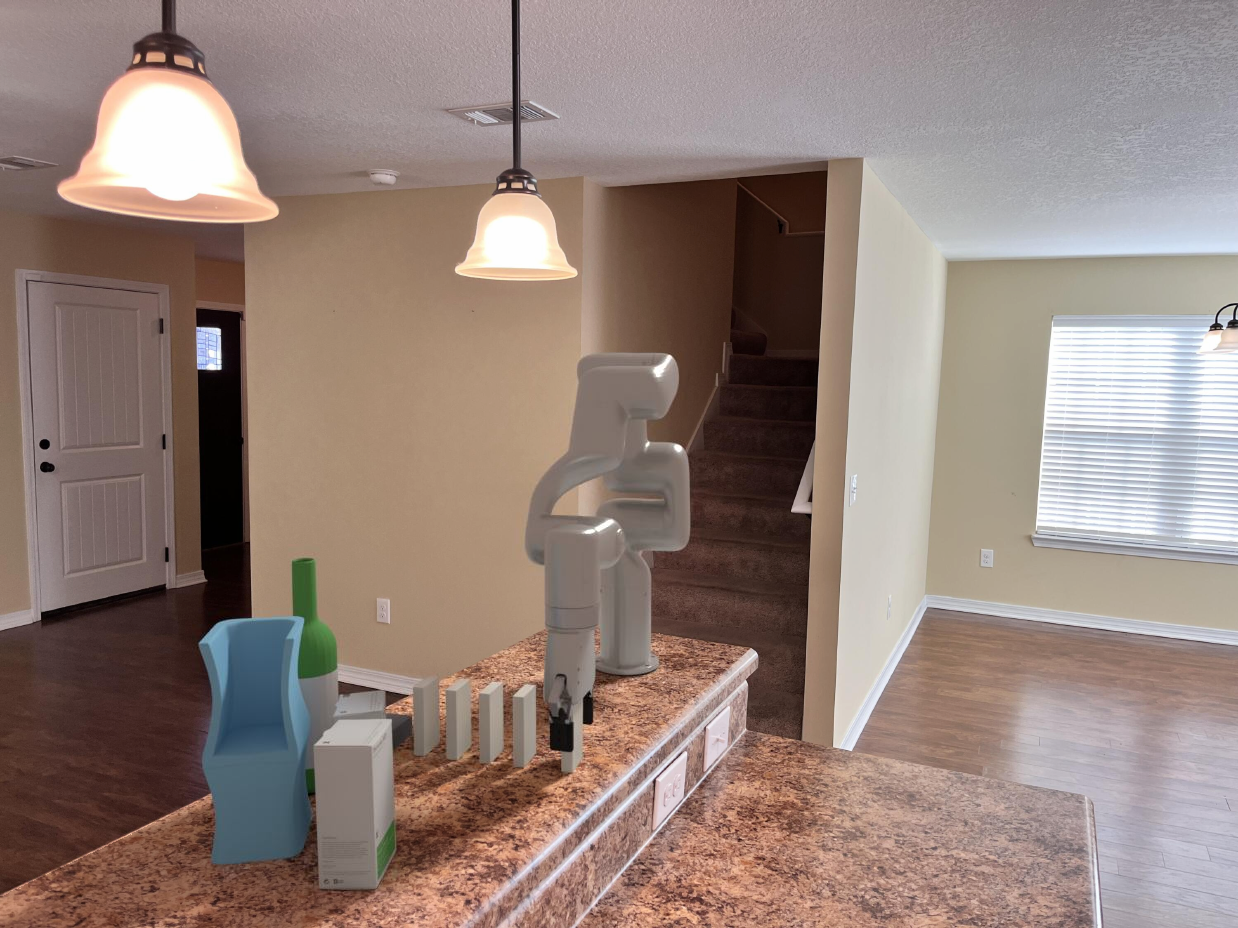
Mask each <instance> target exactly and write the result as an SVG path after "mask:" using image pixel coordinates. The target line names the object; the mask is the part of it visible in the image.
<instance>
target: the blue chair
mask: <svg viewBox="0 0 1238 928" xmlns="http://www.w3.org/2000/svg"><path fill="white" fill-rule="evenodd" d="M303 624H304V618H303V617H299V616H293V615H292V616H291V615H290V616H289V615H288V616H274V617H273V616H272V617H271V616H270V617H251V618H249V617H248V618H234V619H233V618H232V619H226V620H222V621H219V622H217V623H216V624H214V625H213V627H212V628H211V629H210V630H209V632H207V633H206V635H205V636H204V637H203V638H202V639H201V640H200V641H199V642H198V648H199V651H200V654H201V656H202V659H203V662H204V665H205V668H206V671H207V675H208V679H209V684H210V688H211V689H210V690H211V696H212V698H211V699H212V701H211V702H212V704H211V719H210V723H209V724H210V725H209V729H208V733H207V738H206V741H205V746H204V748H203V751H202V752H203V753H202V756H201V763H202V771H203V773H204V776H205V779H206V781H207V785H208V788H209V791H210V794H211V797H212V803H213V808H214V815H215V816H214V817H215V818H214V819H215V823H214V824H215V826H214V838H213V845H212V850H211V857H210V861H211V863H213V864H214V865H219V866H220V865H234V864H244V863H253V862H255V863H256V862H264V861H274V860H283V859H290V858H293V857H296V856H297V855H299V854H300V853H301V852H303V849H304V847H305V844H306V841H307V837H308V835H309V830H310V826H311V822H312V819H313V817H314V813H313V810H312V806H311V803H310V798H309V793H307V787H306V777H305V766H306V753H307V745H308V739H309V732H310V727H311V726H310V715H309V712H308V710H307V708H306V705H305V702H304V700H303V697H302V694H301V690H300V686H299V681H298V673H297V672H298V654H299V646H300V640H301V634H302V629H303Z"/></svg>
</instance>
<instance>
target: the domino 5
mask: <svg viewBox="0 0 1238 928" xmlns="http://www.w3.org/2000/svg"><path fill="white" fill-rule="evenodd" d="M562 699H570V697H563V698H562ZM561 708H563V709H564V711H565V713H566V712H567V706H562V705H561ZM571 722H574V749H573V751H572V752H562V751H560V753H561V754H560V755H561V756H560V757H561V762H560V763H561V765H560V766H561V767H560V768H561V769H560V770H561V772H562V773H570V774H573V773H574V771H576V769H577V767H578V766H579V764H580V763H581V761H582V760H583V758H584V755H583V754H584V752H583V750H584V749H583V748H584V743H583V742H584V730H583V729H584V728H583V727H584V724H583V698H582V700H581V701H580V702H579V703H577V704H576V705H574V708H573V713H572V719H571Z"/></svg>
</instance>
